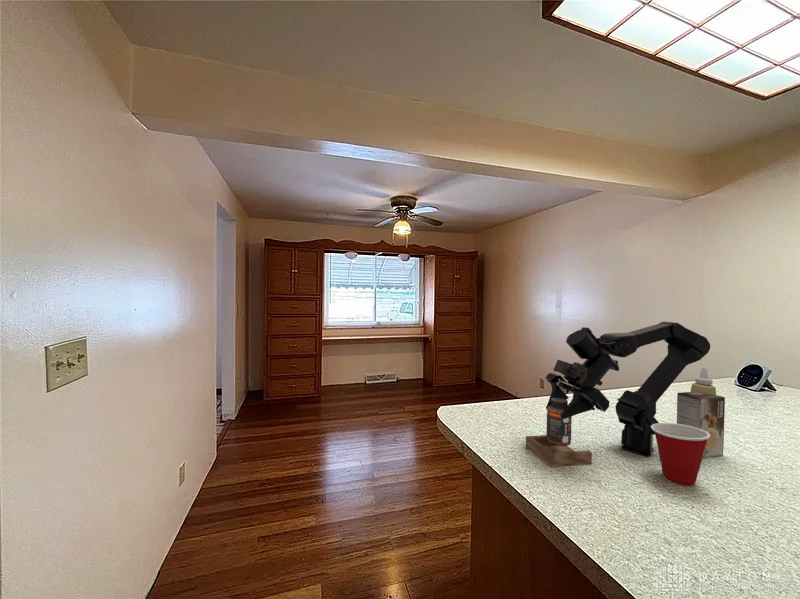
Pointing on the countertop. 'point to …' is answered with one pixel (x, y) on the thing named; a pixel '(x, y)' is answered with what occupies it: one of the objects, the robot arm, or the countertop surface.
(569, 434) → the supplement bottle
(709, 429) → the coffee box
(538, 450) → the tray
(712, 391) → the squeeze bottle
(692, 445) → the plastic cup
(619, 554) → the countertop surface
